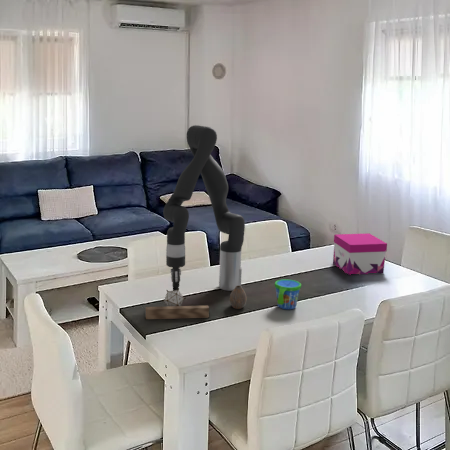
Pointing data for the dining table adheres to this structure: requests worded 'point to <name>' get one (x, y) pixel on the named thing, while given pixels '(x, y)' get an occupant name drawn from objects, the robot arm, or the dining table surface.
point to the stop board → (177, 312)
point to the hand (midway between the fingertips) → (175, 294)
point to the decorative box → (359, 253)
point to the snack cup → (287, 293)
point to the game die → (173, 298)
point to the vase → (238, 298)
